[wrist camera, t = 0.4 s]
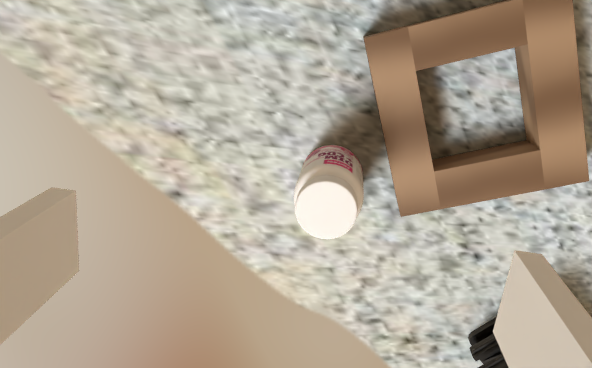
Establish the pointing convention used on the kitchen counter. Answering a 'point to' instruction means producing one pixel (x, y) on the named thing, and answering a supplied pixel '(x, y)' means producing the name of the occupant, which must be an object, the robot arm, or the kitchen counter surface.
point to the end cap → (486, 347)
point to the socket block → (534, 95)
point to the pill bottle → (329, 192)
